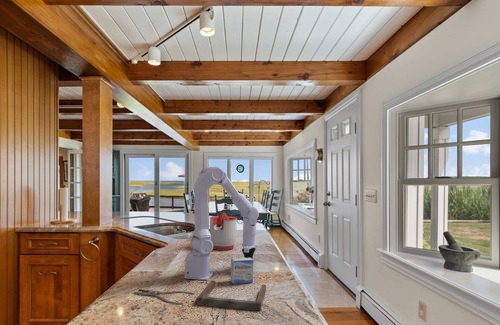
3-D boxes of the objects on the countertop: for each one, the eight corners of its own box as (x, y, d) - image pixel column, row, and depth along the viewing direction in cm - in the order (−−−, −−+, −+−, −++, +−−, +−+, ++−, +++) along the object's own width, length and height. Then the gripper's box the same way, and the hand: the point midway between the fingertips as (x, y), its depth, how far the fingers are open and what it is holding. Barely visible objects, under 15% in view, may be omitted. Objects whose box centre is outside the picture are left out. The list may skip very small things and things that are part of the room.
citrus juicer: (202, 250, 158) (203, 213, 159) (215, 244, 175) (216, 210, 176) (229, 253, 153) (230, 215, 154) (240, 246, 170) (241, 211, 171)
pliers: (188, 303, 91) (124, 300, 92) (188, 306, 91) (124, 303, 92) (195, 291, 101) (137, 288, 102) (195, 293, 101) (137, 291, 102)
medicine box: (232, 284, 109) (233, 260, 110) (230, 280, 114) (230, 257, 114) (253, 283, 112) (253, 259, 112) (249, 279, 116) (250, 256, 116)
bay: (196, 304, 91) (196, 297, 92) (211, 286, 107) (211, 280, 107) (260, 310, 88) (260, 303, 88) (265, 290, 104) (265, 284, 104)
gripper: (256, 237, 122) (255, 271, 121) (260, 231, 136) (259, 261, 136) (239, 236, 123) (238, 269, 122) (245, 230, 138) (244, 260, 137)
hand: (248, 265), depth 129 cm, fingers closed
